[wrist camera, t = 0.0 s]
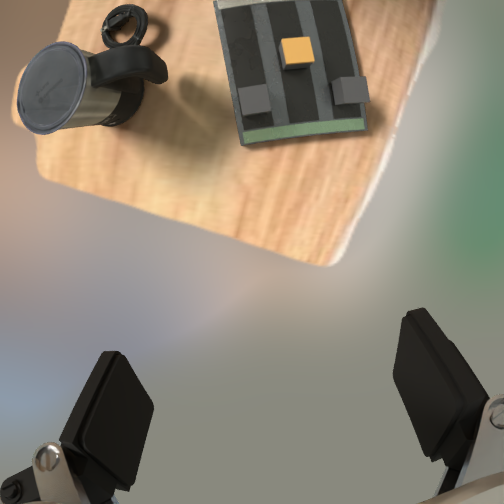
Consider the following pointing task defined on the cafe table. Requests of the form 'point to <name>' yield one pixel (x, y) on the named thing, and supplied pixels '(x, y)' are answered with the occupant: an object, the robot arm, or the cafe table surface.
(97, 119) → the milk frother
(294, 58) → the block
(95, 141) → the cafe table surface
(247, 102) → the block
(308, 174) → the cafe table surface
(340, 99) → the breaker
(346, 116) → the panel
